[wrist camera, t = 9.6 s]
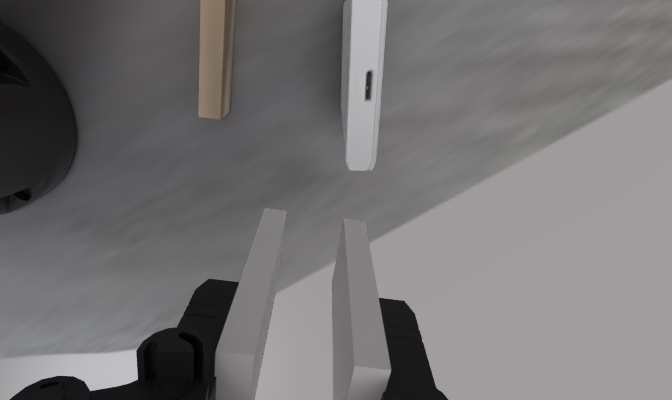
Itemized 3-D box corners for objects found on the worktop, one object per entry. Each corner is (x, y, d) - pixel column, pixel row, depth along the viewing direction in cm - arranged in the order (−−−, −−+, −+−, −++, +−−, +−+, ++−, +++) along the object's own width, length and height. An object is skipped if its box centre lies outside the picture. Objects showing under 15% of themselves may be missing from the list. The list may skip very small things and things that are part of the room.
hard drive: (366, -3, 28) (392, -18, 16) (360, 116, 31) (378, 171, 20) (342, -3, 28) (351, -19, 16) (339, 115, 31) (345, 171, 20)
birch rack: (210, 108, 31) (198, 116, 28) (216, -97, 25) (202, -111, 23) (408, 138, 32) (415, 149, 29) (453, -52, 26) (467, -60, 24)
